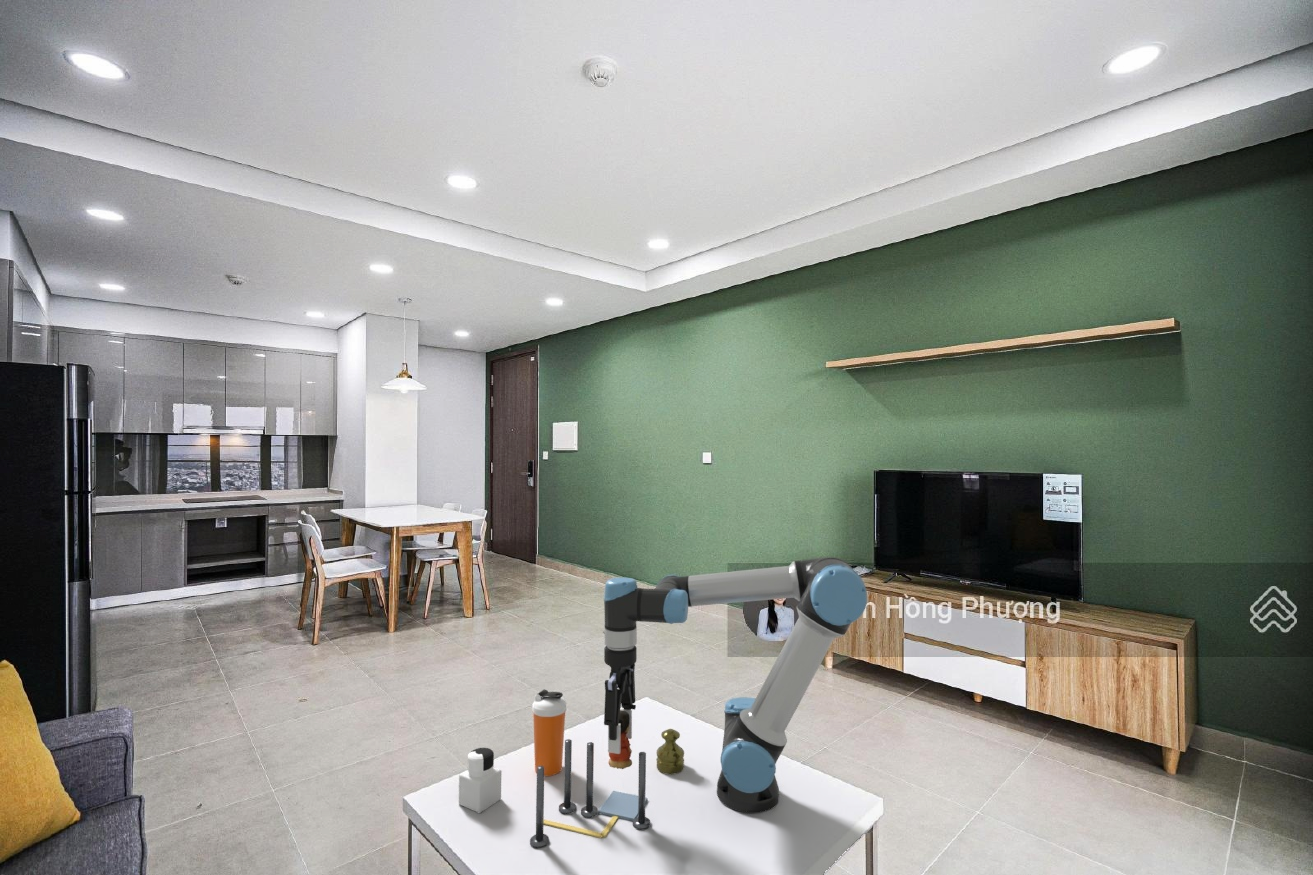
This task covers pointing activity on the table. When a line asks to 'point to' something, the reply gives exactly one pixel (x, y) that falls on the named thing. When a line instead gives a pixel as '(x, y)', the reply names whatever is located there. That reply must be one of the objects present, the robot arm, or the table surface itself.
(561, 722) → the shaker bottle
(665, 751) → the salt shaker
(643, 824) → the gate
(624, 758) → the figurine
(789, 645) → the robot arm
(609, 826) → the guide line
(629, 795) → the pad
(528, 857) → the table surface
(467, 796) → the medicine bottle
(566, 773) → the gate
